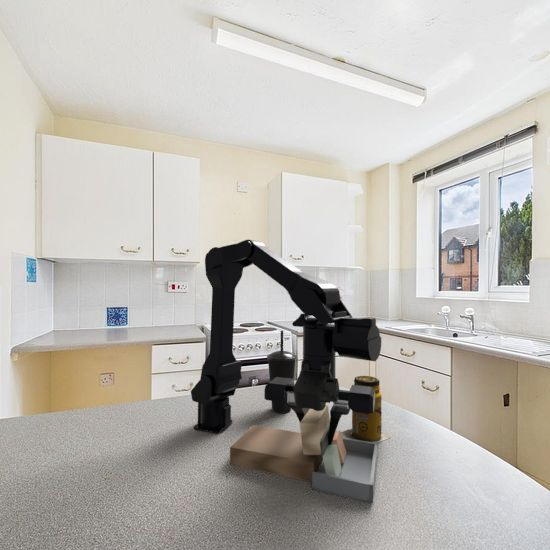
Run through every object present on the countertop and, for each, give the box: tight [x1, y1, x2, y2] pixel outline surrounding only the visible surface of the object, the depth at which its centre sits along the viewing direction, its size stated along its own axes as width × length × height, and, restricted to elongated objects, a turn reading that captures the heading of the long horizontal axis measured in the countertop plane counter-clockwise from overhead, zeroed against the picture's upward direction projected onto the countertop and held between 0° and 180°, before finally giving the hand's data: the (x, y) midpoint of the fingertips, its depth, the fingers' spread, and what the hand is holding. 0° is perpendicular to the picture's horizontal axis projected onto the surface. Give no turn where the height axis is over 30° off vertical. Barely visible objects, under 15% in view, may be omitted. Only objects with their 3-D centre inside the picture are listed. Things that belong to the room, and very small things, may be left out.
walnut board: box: [229, 424, 323, 483], centre depth 61 cm, size 15×10×3 cm, turn 70°
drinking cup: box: [266, 330, 297, 414], centre depth 85 cm, size 8×8×20 cm
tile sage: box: [322, 445, 341, 477], centre depth 54 cm, size 4×4×2 cm
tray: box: [311, 437, 379, 504], centre depth 56 cm, size 9×14×2 cm, turn 160°
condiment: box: [340, 375, 391, 444], centre depth 70 cm, size 7×8×12 cm
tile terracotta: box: [331, 430, 346, 463], centre depth 60 cm, size 4×4×2 cm
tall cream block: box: [299, 404, 330, 455], centre depth 58 cm, size 3×9×5 cm, turn 160°
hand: (318, 443), depth 58 cm, fingers closed on tall cream block, 4 cm apart
